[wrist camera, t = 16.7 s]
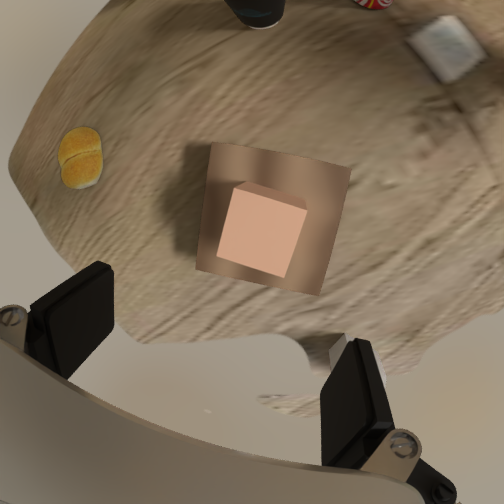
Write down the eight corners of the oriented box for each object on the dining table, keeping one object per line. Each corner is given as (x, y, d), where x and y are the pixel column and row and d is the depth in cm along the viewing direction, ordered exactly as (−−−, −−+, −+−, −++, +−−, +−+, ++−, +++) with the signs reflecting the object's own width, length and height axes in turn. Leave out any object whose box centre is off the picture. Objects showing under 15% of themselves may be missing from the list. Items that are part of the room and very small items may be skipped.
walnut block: (343, 166, 30) (351, 168, 26) (316, 277, 35) (318, 296, 31) (223, 143, 31) (212, 141, 27) (207, 254, 36) (195, 269, 32)
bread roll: (100, 119, 32) (83, 117, 28) (110, 179, 35) (93, 183, 31) (62, 138, 33) (45, 139, 30) (71, 193, 36) (54, 197, 32)
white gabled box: (344, 332, 37) (355, 382, 27) (377, 351, 37) (393, 399, 28) (328, 350, 38) (333, 401, 29) (361, 367, 38) (372, 416, 29)
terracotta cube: (305, 199, 27) (307, 210, 22) (286, 254, 29) (284, 278, 24) (246, 181, 28) (234, 187, 22) (231, 236, 30) (216, 256, 24)
